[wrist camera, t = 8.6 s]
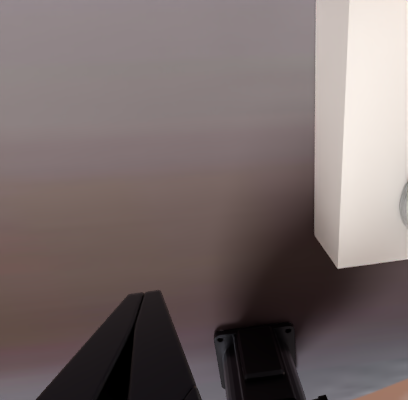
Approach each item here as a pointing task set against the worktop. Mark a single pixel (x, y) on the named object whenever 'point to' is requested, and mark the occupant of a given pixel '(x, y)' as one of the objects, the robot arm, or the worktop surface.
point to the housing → (361, 130)
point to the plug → (404, 205)
